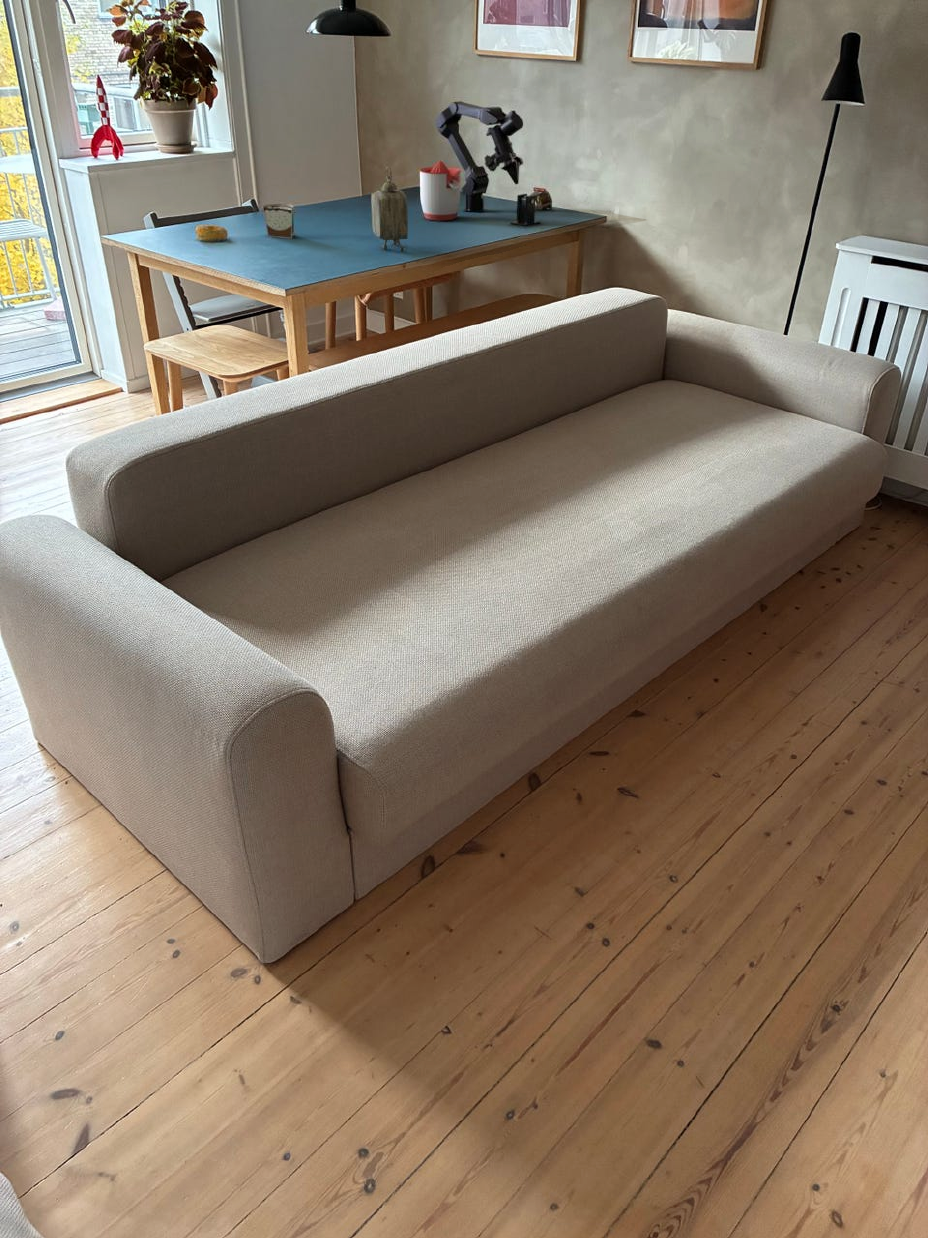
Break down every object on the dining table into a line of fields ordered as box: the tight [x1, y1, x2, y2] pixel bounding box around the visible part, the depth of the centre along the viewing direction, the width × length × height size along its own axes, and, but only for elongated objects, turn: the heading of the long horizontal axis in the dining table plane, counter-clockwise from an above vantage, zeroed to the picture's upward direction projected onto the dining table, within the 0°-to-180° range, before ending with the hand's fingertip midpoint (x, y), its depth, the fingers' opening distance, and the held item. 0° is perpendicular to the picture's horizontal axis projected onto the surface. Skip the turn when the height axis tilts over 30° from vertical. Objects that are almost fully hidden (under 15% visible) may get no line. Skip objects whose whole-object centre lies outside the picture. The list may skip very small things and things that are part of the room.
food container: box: [261, 203, 296, 239], centre depth 330 cm, size 12×6×10 cm, turn 71°
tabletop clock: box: [370, 166, 409, 253], centre depth 309 cm, size 14×9×25 cm, turn 17°
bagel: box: [195, 224, 229, 243], centre depth 326 cm, size 10×11×5 cm
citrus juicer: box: [418, 160, 462, 222], centre depth 355 cm, size 16×17×20 cm
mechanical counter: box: [535, 190, 553, 211], centre depth 373 cm, size 7×13×10 cm
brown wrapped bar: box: [521, 186, 547, 206], centre depth 348 cm, size 10×5×2 cm, turn 137°
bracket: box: [509, 193, 541, 228], centre depth 348 cm, size 9×7×10 cm
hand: (517, 183), depth 355 cm, fingers closed
